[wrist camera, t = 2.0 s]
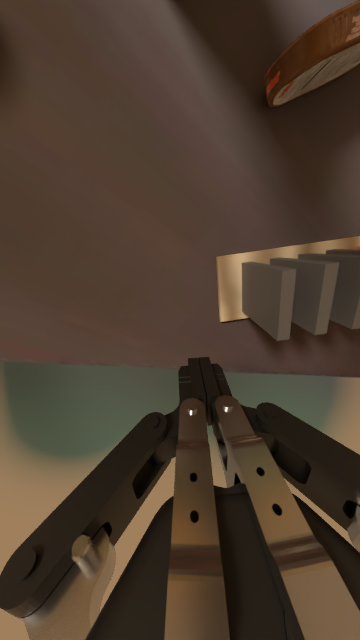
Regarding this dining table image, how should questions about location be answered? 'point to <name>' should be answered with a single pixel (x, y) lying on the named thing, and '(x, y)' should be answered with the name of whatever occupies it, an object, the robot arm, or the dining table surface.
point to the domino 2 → (311, 292)
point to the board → (232, 264)
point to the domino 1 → (269, 297)
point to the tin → (316, 57)
